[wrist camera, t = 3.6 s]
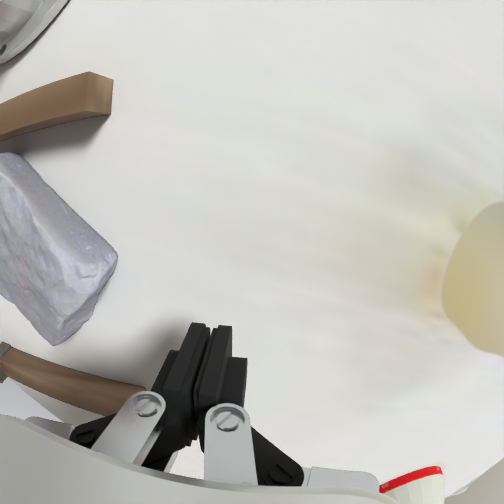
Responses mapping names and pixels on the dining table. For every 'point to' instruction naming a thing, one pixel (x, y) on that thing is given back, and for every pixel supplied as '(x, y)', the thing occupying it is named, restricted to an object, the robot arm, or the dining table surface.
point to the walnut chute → (22, 121)
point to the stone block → (48, 253)
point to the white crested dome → (417, 487)
